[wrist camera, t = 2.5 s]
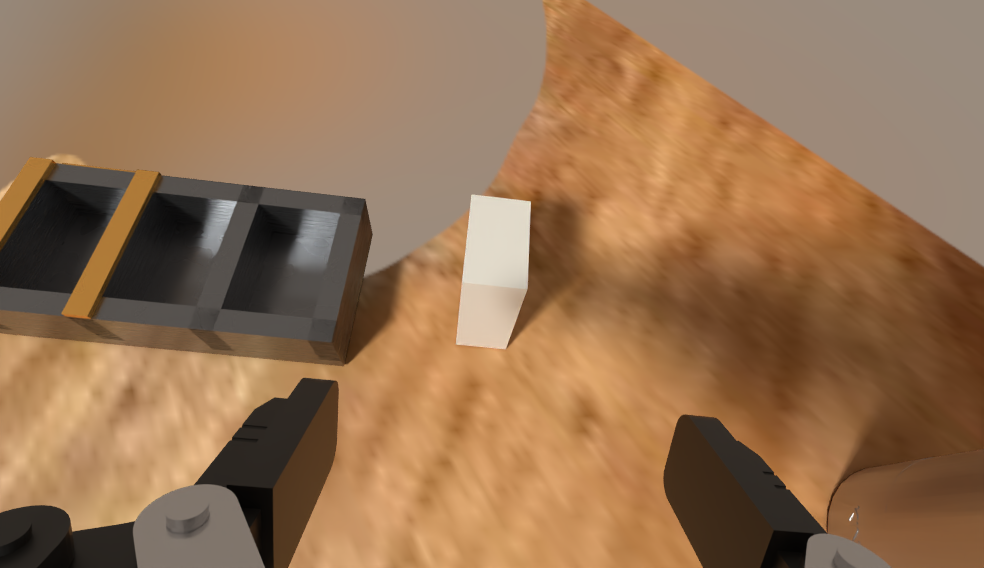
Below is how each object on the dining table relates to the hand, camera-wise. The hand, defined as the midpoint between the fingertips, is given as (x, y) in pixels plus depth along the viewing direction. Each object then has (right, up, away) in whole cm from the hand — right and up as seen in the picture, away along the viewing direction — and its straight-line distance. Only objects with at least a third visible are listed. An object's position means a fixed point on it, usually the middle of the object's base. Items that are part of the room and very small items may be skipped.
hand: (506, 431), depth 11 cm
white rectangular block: (-1, +2, +19) cm, 19 cm away
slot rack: (-18, +4, +18) cm, 26 cm away
